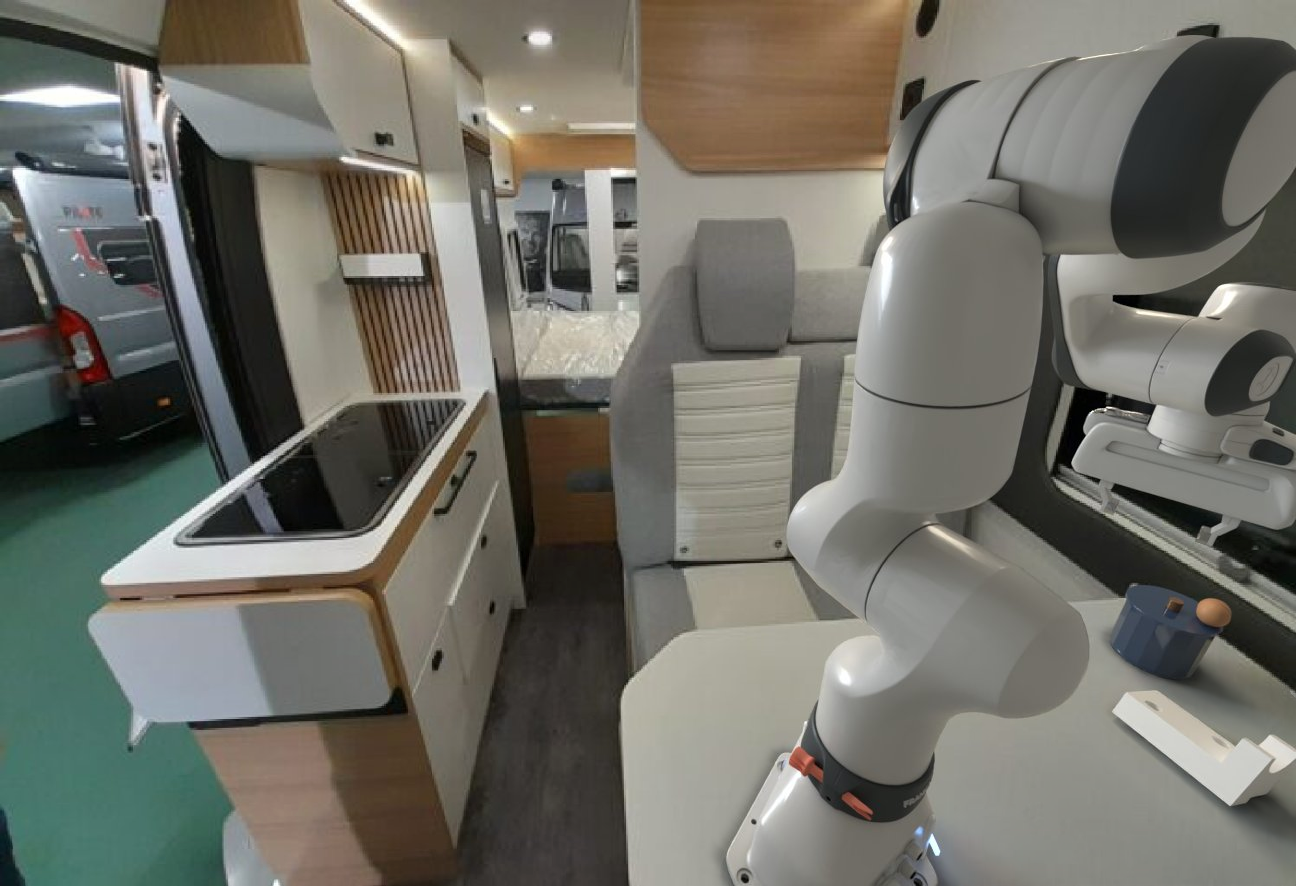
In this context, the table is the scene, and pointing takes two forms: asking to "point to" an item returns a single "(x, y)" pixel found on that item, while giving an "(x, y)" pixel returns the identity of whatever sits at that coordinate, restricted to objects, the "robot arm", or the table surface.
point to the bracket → (1207, 748)
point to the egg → (1213, 612)
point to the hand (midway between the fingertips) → (1152, 526)
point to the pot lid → (1169, 610)
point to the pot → (1156, 645)
